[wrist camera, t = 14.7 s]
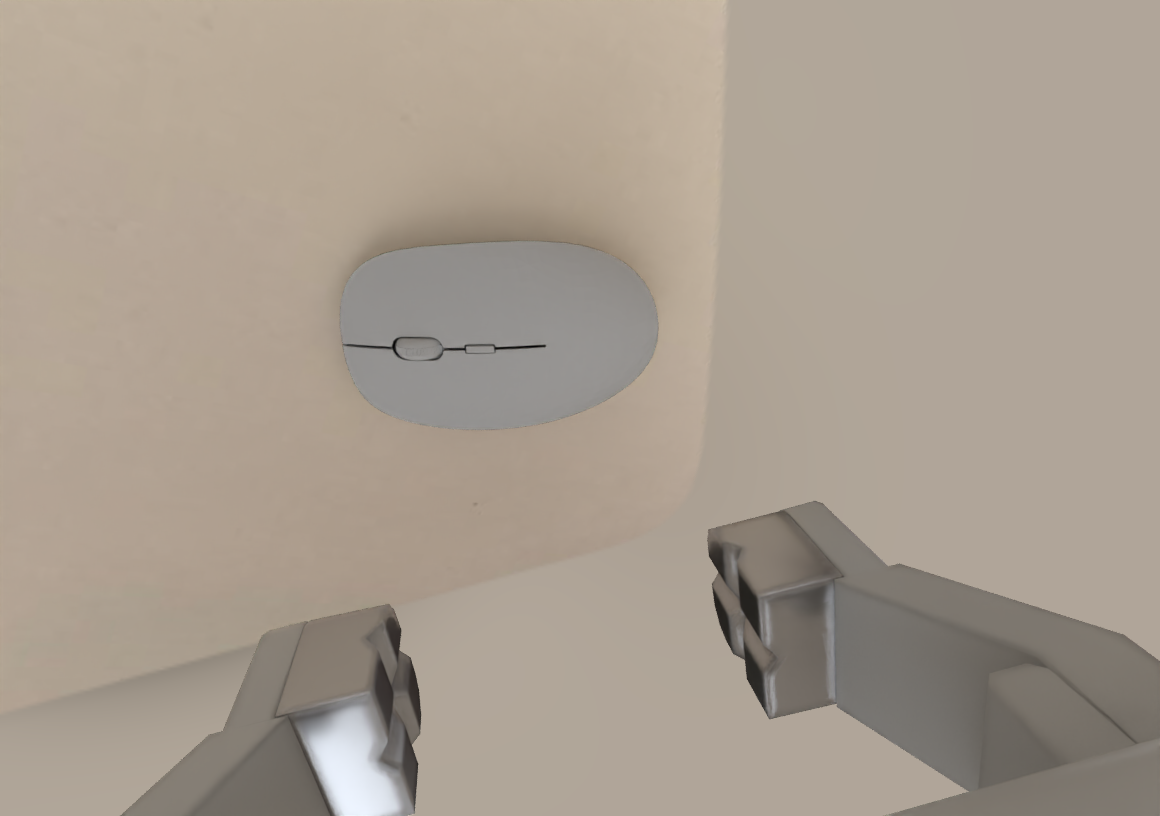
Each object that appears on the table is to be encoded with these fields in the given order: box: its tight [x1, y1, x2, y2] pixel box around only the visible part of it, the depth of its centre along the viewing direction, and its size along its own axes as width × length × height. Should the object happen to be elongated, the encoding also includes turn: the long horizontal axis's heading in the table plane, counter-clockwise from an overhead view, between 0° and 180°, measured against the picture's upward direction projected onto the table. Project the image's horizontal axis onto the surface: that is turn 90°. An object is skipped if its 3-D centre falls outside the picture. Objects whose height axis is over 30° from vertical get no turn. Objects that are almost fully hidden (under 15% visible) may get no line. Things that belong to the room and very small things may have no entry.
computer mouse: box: [340, 241, 658, 430], centre depth 21 cm, size 6×10×3 cm, turn 92°
